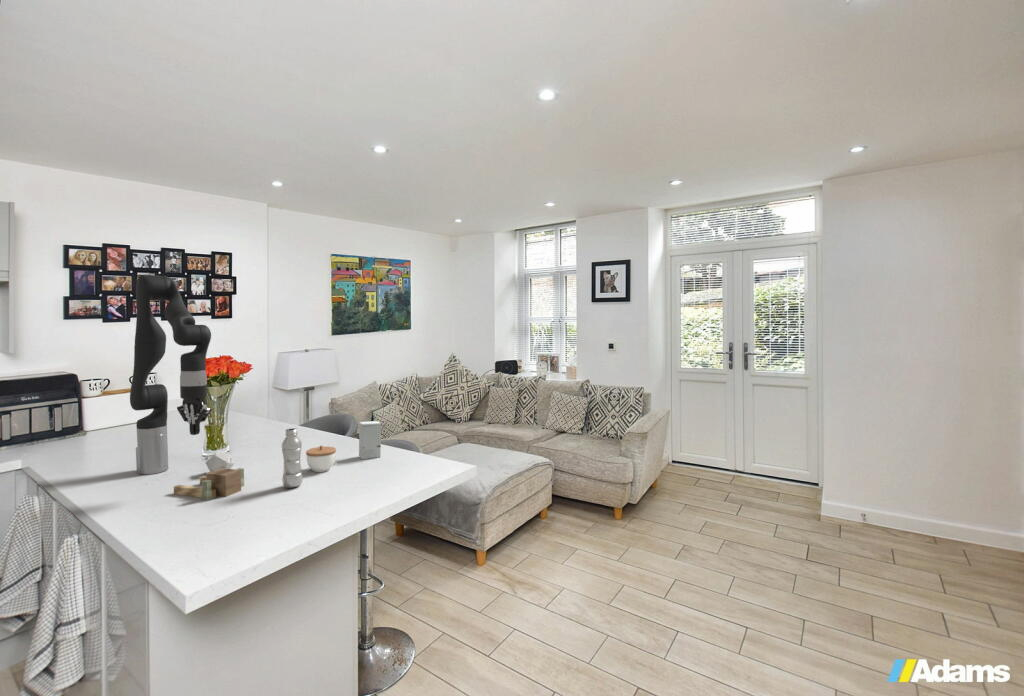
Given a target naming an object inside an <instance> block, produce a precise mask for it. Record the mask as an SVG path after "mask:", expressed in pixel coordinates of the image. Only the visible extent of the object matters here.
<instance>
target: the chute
mask: <svg viewBox="0 0 1024 696" xmlns="http://www.w3.org/2000/svg"><path fill="white" fill-rule="evenodd" d="M235 470H241V488H242V487H244V486H245V468H241V467H239V468H236V469H235ZM199 483H200V485H201V487H200V486H190V485H181V484H177V485H174V486H173V494H174V495H179V496H186V497H187V496H189V497H196V498H202V501H209V500H212V499H216V497H217V496H216V489H211V480H206V475H204V476H200V477H199Z"/></svg>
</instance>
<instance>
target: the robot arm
mask: <svg viewBox="0 0 1024 696" xmlns="http://www.w3.org/2000/svg"><path fill="white" fill-rule="evenodd" d="M135 295H136V296H135V301H136V302H135V303H136V322H135V323H136V324H135V334H134V335H135V336H134V346H133V347H134V348H133V349H134V353H133V354H134V356H133V373H132V379H131V384H130V391H129V403H130V407H131V409H133V410H134V411H146V410H147V411H148V410H152V412H151V413H150V414H149V413H148V415H146V416H144V417H142V418H140V419H138V420H137V421H136V423H135V424H136V442H137V443H136V444H137V446H136V448H135V462H136V463H135V464H136V473H138V474H139V475H153V474H158V473H162V472H166V471H168V469H169V450H168V449H169V444H168V426H167V425H168V397H169V395H168V390H167V387H166V386H165V385H164V384H161V383H157V384H156V383H155V384H146V383H147V380H148V378H149V376H150V374H151V372H152V370H154V369H155V367H156V366H157V365H158V364H159V363H160V361H161V360H162V359H163V357H164V356H165V353H166V347H167V346H166V345H167V335H166V333H165V330H164V329H163V328H162V326H161V325H160V323H159V322H158V321H157V320H156V318H155V316H154V315H153V313H152V309H151V301H153V302H155V301H156V302H157V301H158V302H166V301H167V302H168V303H167V304H166V306H165V307H164V313H163V314H164V317H165V320H166V321H167V322H168V324H169V325H170V327H171V330H172V338H173V341H174V342H175V344H177V345H179V346H182V347H186V346H187V347H191V346H195V348H194V349H193V350H192V351H188V352H185V353H182V354H180V358H179V360H180V361H179V362H180V364H179V365H180V376H179V391H180V395H179V397H180V399H182V403H181V405H179V406H177V407H176V409H177V411H178V413H179V415H180V416H181V418H182V420H183V421H184V422H187V423H188V425H189V434H190V436H195V435H196V436H197V435H199V434H200V432H201V428H200V427H201V423H202V422H205V421H206V420H207V418H208V417H209V415H210V414H211V412H212V411H213V410H212V408H211V407H208V406H207V405H206V404H207V402H206V397H208V376H207V372H206V371H207V369H206V368H207V367H206V365H207V364H206V358H207V354H208V353H207V352H208V349H209V347H210V343H211V341H212V340H211V339H212V332H211V329H210V328H209V327H208V326H207V325H205V324H196V319H195V317H194V316H193V314H191V312H190V311H189V310H188V308H187V306H186V304H185V303H184V300H183V297H182V296H181V292H180V291H179V288H178V285H177V284H176V282H175V280H174V279H173V278H171V277H170V276H167V275H157V274H156V275H155V274H140V275H138V276H137V279H136V284H135Z"/></svg>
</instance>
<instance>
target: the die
mask: <svg viewBox="0 0 1024 696" xmlns="http://www.w3.org/2000/svg"><path fill="white" fill-rule="evenodd" d="M205 464H206V467H207V469H208V471H209V472H212V471H215V470H218V469H221V468H225V469H232V468H233V467H234V465H235V464H236V463H235V461H234V459H233V457H232V455H231V454H230V452H228V451H220V452H218V451H217V452H216V451H215V452H214V453H213V454H212V455H211V456H210V458H208V460H206V461H205Z"/></svg>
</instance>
